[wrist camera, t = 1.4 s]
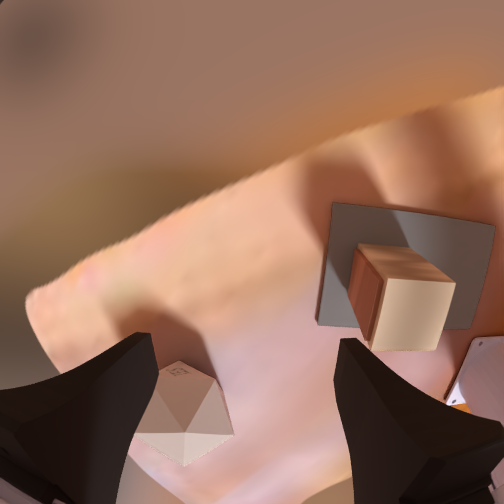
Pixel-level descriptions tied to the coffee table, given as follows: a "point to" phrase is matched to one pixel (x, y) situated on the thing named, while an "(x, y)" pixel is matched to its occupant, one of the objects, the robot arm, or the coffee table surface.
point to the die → (185, 415)
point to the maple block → (398, 298)
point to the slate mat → (411, 236)
